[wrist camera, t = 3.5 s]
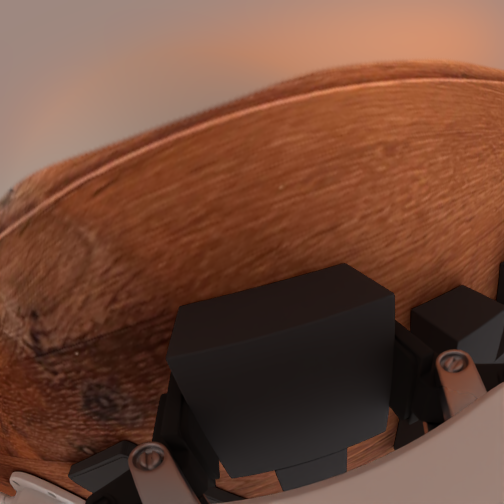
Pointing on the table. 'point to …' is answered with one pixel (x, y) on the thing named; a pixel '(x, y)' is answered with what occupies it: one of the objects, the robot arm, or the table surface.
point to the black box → (458, 333)
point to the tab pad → (288, 372)
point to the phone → (115, 464)
